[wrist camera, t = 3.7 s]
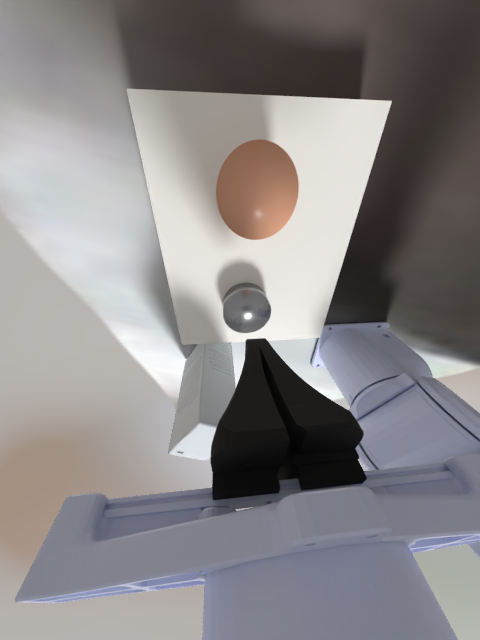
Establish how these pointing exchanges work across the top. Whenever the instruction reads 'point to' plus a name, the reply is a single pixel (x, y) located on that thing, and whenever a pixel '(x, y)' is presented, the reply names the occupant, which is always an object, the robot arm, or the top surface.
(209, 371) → the skincare box
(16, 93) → the top surface
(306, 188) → the panel
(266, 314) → the plug
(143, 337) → the top surface
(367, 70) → the top surface
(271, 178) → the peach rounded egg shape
